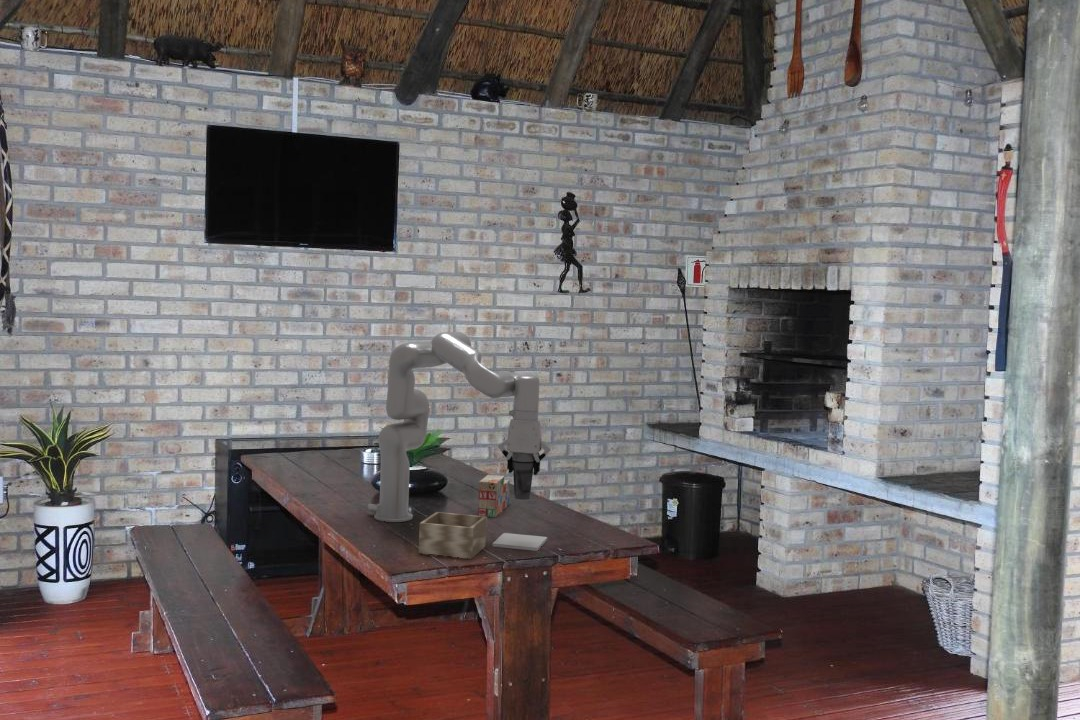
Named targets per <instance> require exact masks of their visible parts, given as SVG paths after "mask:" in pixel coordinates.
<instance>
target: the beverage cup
mask: <svg viewBox="0 0 1080 720" xmlns="http://www.w3.org/2000/svg"><path fill="white" fill-rule="evenodd" d="M512 457H513V458H512V465H513V474H512V475H513V489H514V490H513V493H514V499H516V500H523V501H524V500H525V501H526V500H529V499H530V496H531V491H532V483H533V476H534V462H535V458H534V456H533V454H526V453H514V455H513V456H512Z"/></svg>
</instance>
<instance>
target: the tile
mask: <svg viewBox="0 0 1080 720" xmlns="http://www.w3.org/2000/svg"><path fill="white" fill-rule="evenodd" d="M547 541H548V537H547V536H540V535H531V534H519V533H509V532H503V533H502V534H501V535H500V536H499V537H498V538H497V539H495V541H493V542H492V547H494V548H501V549H502V548H505V549H513V550H514V549H515V550H524V551H532V552H533V551H534V552H538V551H539V550H540V549H541V548H542V547H543V545H545V543H546V542H547ZM541 546H542V547H541Z"/></svg>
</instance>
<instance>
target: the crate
mask: <svg viewBox="0 0 1080 720" xmlns="http://www.w3.org/2000/svg"><path fill="white" fill-rule="evenodd" d="M418 527H419V530H418V531H419V534H418V554H419V553H422V555H428V554H437V555H444V556H443V557H447V556H452V557H451V558H457V557H459V558H458V559H467V558H468V559H469V560H472V559H473V558H474V557H475V556H476V555H477V554H479V553H480V552H481V551H482V550H483V549H484V548H485V547H487V532H488V531H487V530H488V529H487V528H488V517H486V516H478V515H475V514H474V515H472V514H463V513H453V512H440V511H436V512H434V513H433V514H431V515H429V517H427V518H425V519H424V520H422V521H421V522H419V526H418ZM437 555H436V556H437Z"/></svg>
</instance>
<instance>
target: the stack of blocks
mask: <svg viewBox="0 0 1080 720" xmlns="http://www.w3.org/2000/svg"><path fill="white" fill-rule="evenodd" d="M478 484H479V485H478V508H477V516H478V515H479V516H490V517H489V518H494V517H495V518H496V516H497V515H498V514H499V513H500V512H501V513H502V512H503V511H504V510H505V509H506V508H507V507H508V506H509V505H510V479H505V475H497V474H495V475H493V474H487V475H486V476H485V477H483V478H482V479H480V480H479V482H478ZM508 504H509V505H508ZM507 505H508V506H507ZM504 508H505V509H504ZM503 509H504V510H503ZM502 510H503V511H502ZM501 513H500V514H501ZM500 514H499V515H500ZM499 515H498V516H499ZM498 516H497V517H498Z"/></svg>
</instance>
